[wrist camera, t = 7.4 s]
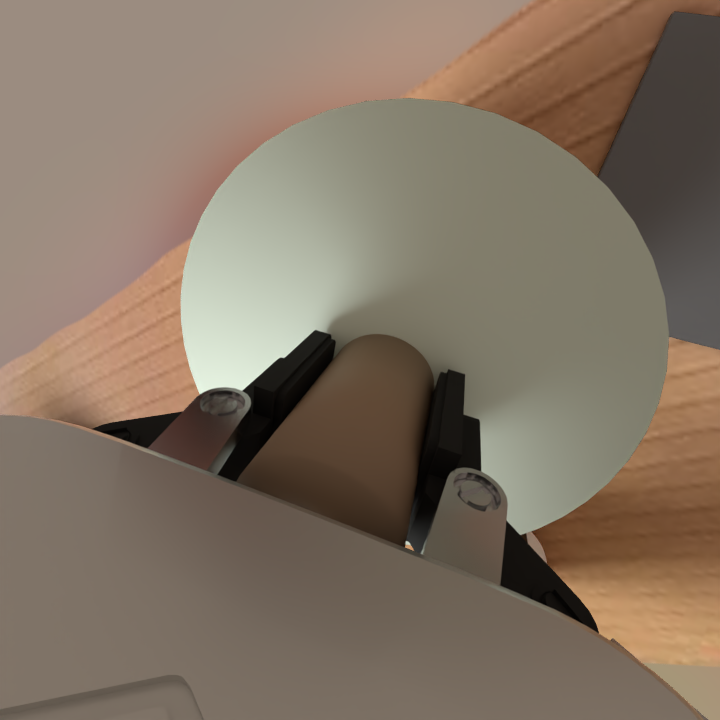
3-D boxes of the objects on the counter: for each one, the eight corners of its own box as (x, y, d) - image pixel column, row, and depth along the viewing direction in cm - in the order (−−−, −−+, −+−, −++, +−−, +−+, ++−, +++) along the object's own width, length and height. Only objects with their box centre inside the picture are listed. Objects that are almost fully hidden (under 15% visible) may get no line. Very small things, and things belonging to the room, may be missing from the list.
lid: (799, 172, 8) (1891, 128, 2) (520, 571, 16) (551, 820, 10) (192, 64, 11) (-203, -105, 4) (207, 453, 18) (71, 589, 12)
